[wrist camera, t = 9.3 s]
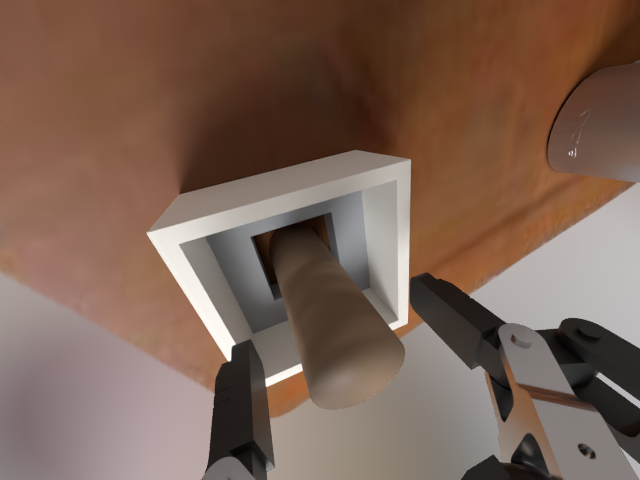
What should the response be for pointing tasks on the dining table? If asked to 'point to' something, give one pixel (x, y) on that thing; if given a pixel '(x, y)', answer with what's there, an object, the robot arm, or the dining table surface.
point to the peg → (332, 322)
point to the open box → (278, 211)
